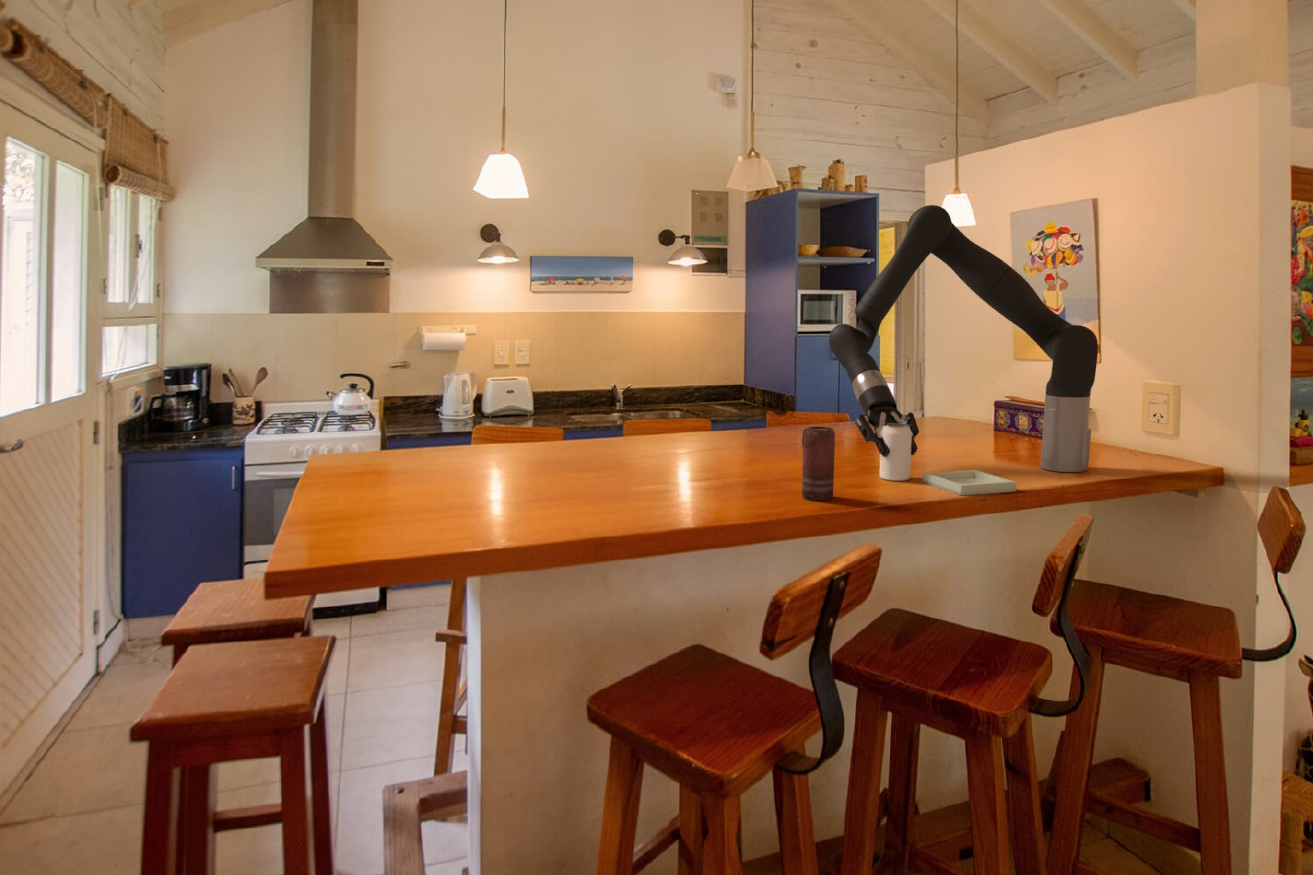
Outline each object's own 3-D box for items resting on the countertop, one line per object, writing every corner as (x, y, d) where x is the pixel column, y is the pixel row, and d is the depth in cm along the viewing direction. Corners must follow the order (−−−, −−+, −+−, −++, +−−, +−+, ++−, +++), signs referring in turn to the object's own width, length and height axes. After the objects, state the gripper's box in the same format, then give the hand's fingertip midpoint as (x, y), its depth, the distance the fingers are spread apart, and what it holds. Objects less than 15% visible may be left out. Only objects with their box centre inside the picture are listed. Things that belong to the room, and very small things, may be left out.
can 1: (797, 494, 164) (798, 426, 162) (828, 494, 165) (830, 425, 163) (805, 501, 158) (806, 430, 156) (837, 501, 159) (839, 430, 157)
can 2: (906, 475, 183) (908, 422, 181) (912, 481, 176) (915, 427, 174) (877, 475, 183) (879, 422, 181) (882, 481, 177) (884, 426, 175)
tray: (974, 478, 179) (975, 470, 179) (1015, 491, 167) (1016, 481, 166) (922, 482, 176) (923, 473, 175) (960, 495, 163) (961, 485, 163)
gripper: (851, 385, 182) (878, 445, 172) (908, 383, 186) (937, 442, 176) (839, 406, 188) (864, 465, 178) (894, 403, 192) (921, 462, 182)
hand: (900, 453), depth 177 cm, fingers closed on can 2, 6 cm apart
